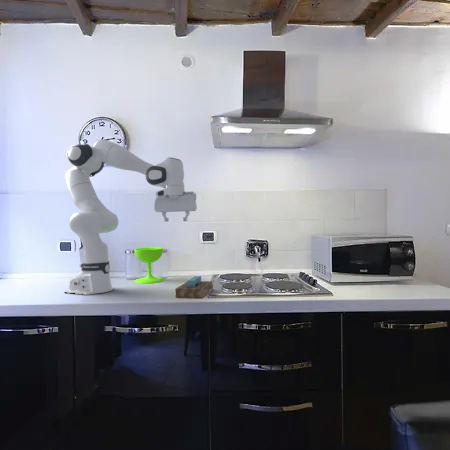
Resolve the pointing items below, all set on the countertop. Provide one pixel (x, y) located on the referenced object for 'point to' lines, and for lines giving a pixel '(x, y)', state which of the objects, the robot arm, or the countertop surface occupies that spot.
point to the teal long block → (193, 281)
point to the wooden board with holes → (194, 290)
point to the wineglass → (149, 262)
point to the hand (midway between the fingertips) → (175, 221)
